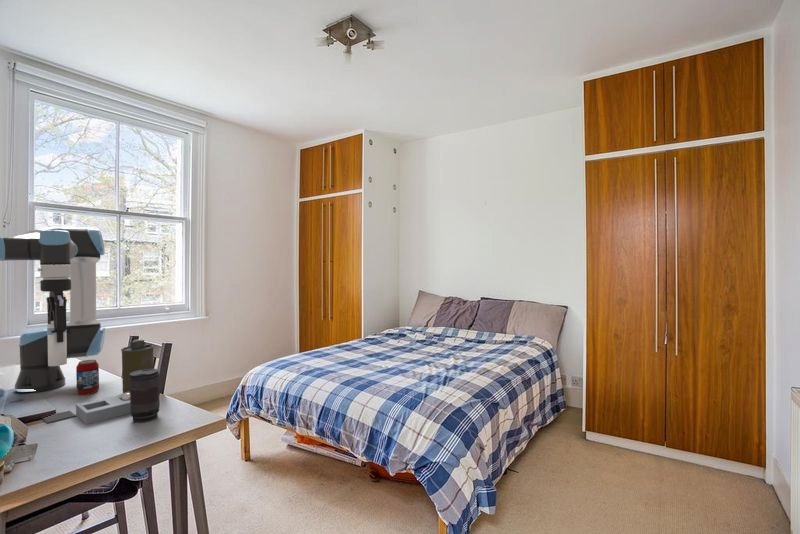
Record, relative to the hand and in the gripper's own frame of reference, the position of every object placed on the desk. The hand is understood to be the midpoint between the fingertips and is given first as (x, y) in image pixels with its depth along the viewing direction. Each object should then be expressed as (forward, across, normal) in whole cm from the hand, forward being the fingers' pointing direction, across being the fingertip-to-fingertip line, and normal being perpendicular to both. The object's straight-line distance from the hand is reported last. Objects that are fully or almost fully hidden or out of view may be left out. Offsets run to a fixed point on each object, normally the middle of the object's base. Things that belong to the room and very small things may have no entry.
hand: (57, 351), depth 130 cm
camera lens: (+22, +23, +17) cm, 36 cm away
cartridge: (+4, 0, 0) cm, 4 cm away
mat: (+21, 0, 0) cm, 21 cm away
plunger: (+20, +8, +17) cm, 28 cm away
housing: (+21, +8, +12) cm, 26 cm away
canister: (+22, -7, +25) cm, 34 cm away
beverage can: (+22, -23, +13) cm, 34 cm away
